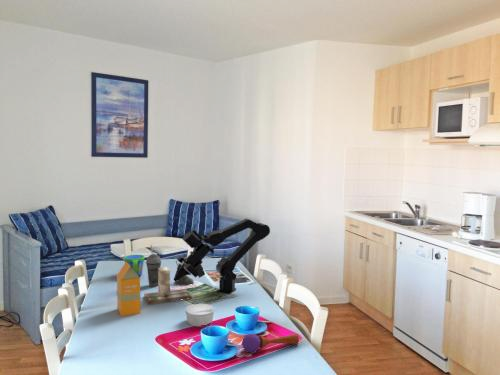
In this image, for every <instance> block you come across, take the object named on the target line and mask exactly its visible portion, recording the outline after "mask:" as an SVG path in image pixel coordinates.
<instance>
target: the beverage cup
mask: <svg viewBox="0 0 500 375" xmlns="http://www.w3.org/2000/svg"><path fill="white" fill-rule="evenodd" d="M150 250H151V254H150V255H149V256H147V258H146V261H145V264H146V268H147V270H146V271H147V278H148V286H149V287H150V288H157V287H158V268H161V267H162V266H161V265H162V260H161V257H160V256H159V255H158V254H156V253H155V254H154V252H153V245H152V244H151V245H150Z"/></svg>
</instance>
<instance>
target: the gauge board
mask: <svg viewBox="0 0 500 375" xmlns="http://www.w3.org/2000/svg"><path fill="white" fill-rule="evenodd" d="M143 298H144V299H145V301H146V303H147V305H153V304H154V305H155V304H162V303H163V304H164V303H170V302H176V301H182V300H181V299H187V298H191V299H192V295H191V293H190V292H189V291H188V290H187V289H186V288H183V289H172V290H170V295H167V297H165V296H161V295H160V293H159V292H158V291H156V292H149V293H148V292H147V293H144V296H143ZM187 300H188V299H187Z"/></svg>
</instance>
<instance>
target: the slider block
mask: <svg viewBox="0 0 500 375" xmlns="http://www.w3.org/2000/svg"><path fill="white" fill-rule="evenodd" d="M157 287H158V291H157V292H159V293H160V295H161V296H165V297H167V295H170V291H171V270H170V268H169V266H165V267H160V268H158V286H157Z"/></svg>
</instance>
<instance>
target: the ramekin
mask: <svg viewBox="0 0 500 375" xmlns="http://www.w3.org/2000/svg"><path fill="white" fill-rule="evenodd" d="M214 312H215V308H214V306H213V305H210V304H206V303H196V304H195V303H194V304H190V305H187V307H186V308H185V315H186V319H187V323H188V324H189V325H190V326H193V327H202V326H201V325H206V326H208V325H207V324H209V323H210V324H212V322H213V318H214ZM210 324H209V325H210Z"/></svg>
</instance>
